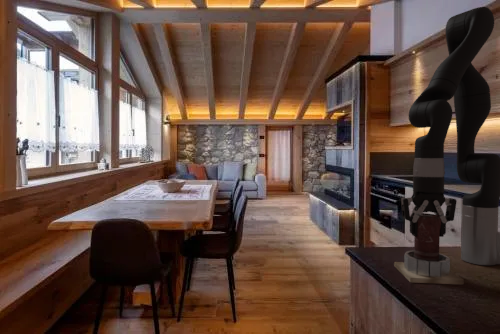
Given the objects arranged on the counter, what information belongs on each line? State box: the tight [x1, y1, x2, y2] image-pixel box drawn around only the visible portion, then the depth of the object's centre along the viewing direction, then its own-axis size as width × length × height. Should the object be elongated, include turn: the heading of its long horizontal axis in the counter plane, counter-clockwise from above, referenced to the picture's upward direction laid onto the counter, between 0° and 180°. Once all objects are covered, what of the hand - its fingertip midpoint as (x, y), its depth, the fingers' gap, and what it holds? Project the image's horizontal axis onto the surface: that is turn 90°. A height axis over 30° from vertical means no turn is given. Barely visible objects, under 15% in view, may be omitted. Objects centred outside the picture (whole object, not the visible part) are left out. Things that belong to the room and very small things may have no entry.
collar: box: [403, 249, 451, 277], centre depth 94 cm, size 11×11×4 cm
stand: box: [393, 261, 465, 285], centre depth 94 cm, size 13×13×1 cm
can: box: [413, 212, 441, 261], centre depth 93 cm, size 6×6×14 cm
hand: (427, 235), depth 93 cm, fingers closed on can, 6 cm apart
